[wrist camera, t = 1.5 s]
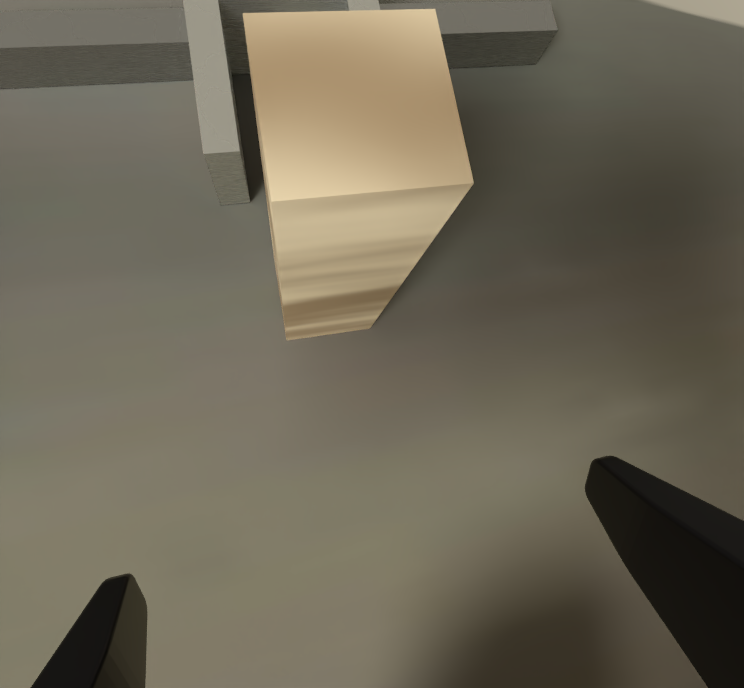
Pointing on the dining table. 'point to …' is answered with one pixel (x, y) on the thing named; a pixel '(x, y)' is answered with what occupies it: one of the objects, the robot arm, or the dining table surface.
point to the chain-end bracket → (230, 53)
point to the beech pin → (352, 156)
